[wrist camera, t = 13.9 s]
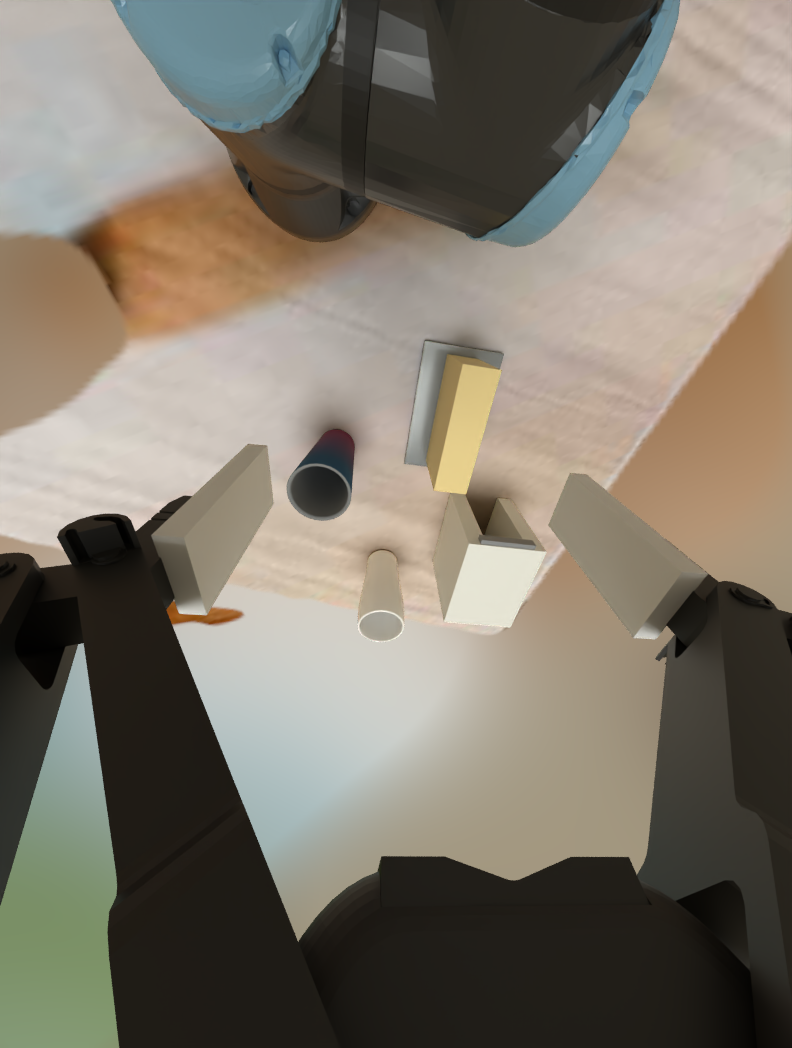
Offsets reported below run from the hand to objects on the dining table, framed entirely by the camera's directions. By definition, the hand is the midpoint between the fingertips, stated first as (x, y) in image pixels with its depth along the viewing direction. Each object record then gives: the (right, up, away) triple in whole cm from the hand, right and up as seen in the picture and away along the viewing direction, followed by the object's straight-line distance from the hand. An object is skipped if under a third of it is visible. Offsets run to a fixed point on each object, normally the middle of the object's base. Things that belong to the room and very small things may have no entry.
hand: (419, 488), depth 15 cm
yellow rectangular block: (+6, +13, +30) cm, 34 cm away
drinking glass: (-3, -8, +45) cm, 46 cm away
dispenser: (+12, -3, +42) cm, 43 cm away
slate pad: (+6, +14, +31) cm, 35 cm away
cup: (-10, +10, +33) cm, 36 cm away
